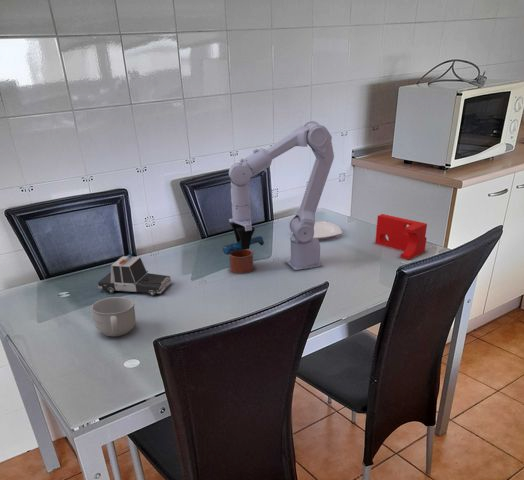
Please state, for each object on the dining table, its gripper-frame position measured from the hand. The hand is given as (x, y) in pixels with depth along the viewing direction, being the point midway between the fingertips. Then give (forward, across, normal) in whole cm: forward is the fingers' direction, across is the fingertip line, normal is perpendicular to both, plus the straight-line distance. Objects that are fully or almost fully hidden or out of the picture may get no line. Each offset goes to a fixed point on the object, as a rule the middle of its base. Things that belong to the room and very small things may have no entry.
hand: (243, 246), depth 163 cm
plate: (+7, -23, +36) cm, 44 cm away
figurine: (+2, 0, 0) cm, 2 cm away
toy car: (+9, 0, -36) cm, 37 cm away
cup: (+8, -2, 0) cm, 9 cm away
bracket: (+8, +4, +55) cm, 56 cm away
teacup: (+9, +28, -44) cm, 53 cm away
